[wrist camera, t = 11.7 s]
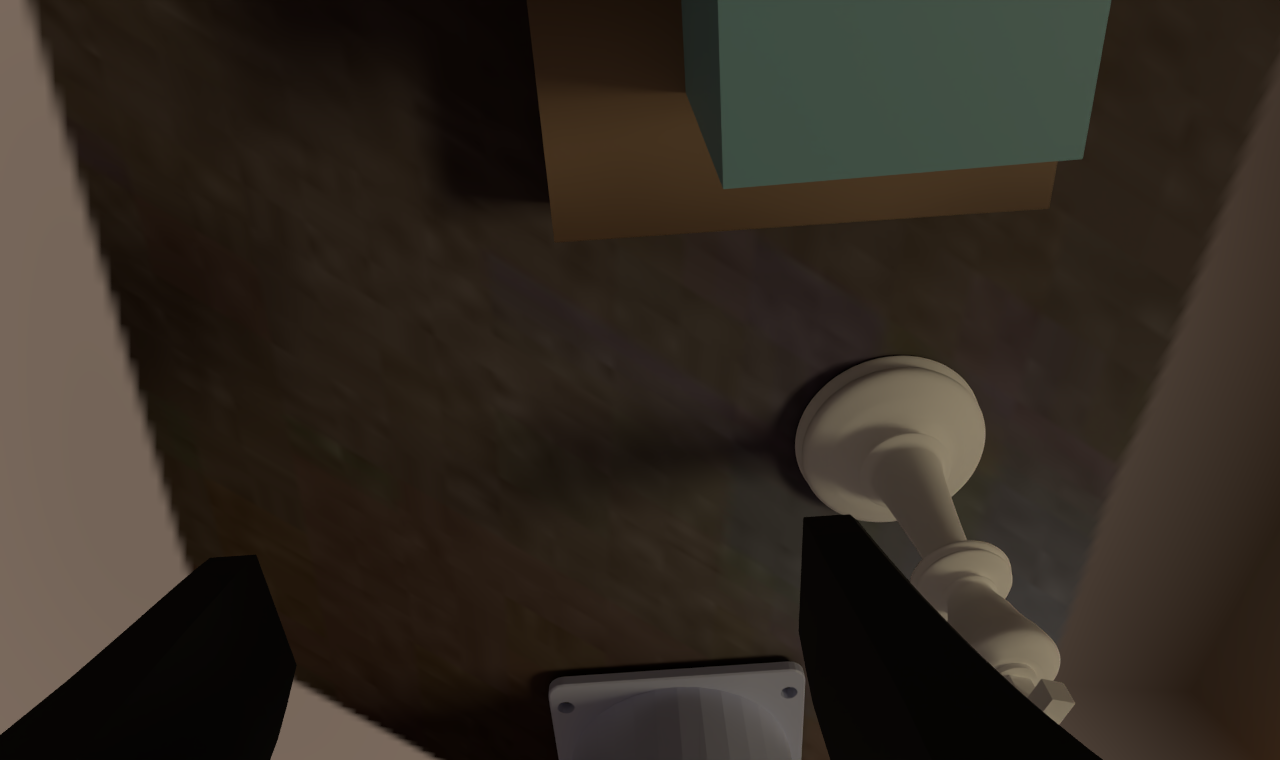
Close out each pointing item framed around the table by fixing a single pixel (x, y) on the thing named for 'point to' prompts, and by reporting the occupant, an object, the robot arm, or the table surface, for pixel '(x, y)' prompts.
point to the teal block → (889, 84)
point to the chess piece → (926, 502)
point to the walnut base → (695, 142)
